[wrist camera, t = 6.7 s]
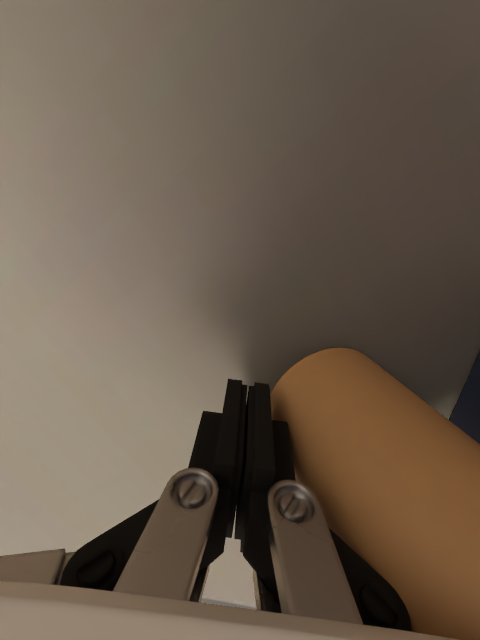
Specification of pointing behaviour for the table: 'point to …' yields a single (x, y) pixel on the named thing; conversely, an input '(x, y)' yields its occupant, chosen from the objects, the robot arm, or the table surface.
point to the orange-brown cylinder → (390, 482)
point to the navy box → (469, 405)
